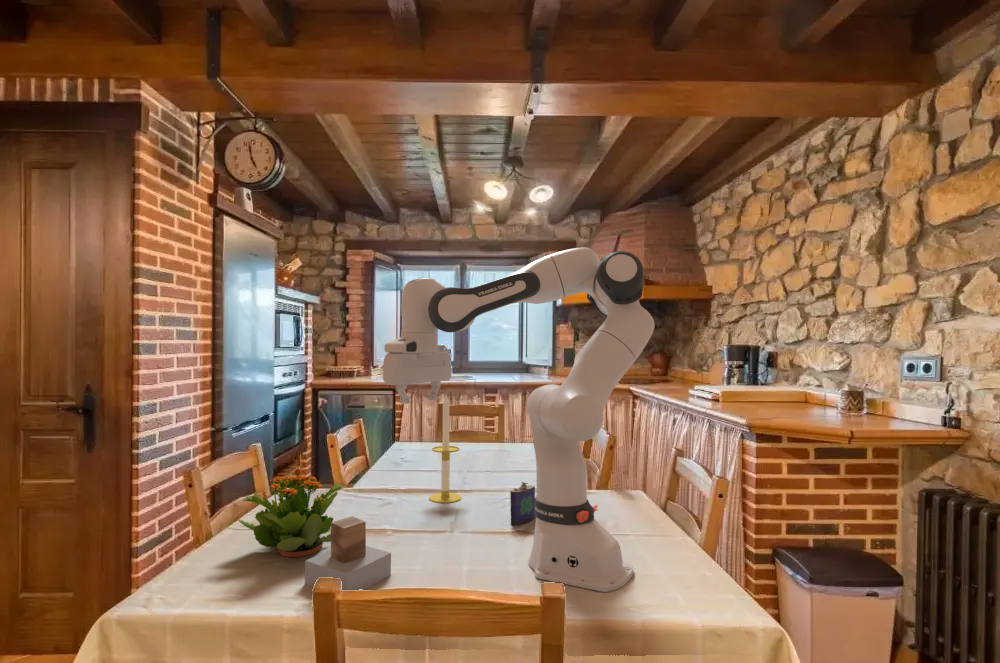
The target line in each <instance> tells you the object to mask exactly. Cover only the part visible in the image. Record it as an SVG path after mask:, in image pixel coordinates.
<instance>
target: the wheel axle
mask: <svg viewBox="0 0 1000 663" xmlns="http://www.w3.org/2000/svg"><path fill="white" fill-rule="evenodd" d="M450 408H451V407H450V401H449V398H448V395H447V394H445V397H444V399H443V401H442V443H441V444H442V445H440V446H434V447H432V449H431V451H432V452H434V453H441V483H440V484H441V485H440V486H441V488H440V489H441V492H440V493H434V494H431V495H430V496H429V501H431V502H432V503H437V504H451V503H456V502H459V501H461V499H462V496H461V495H460V494H458V493H455V492H450V473H451V472H450V468H451V466H450V463H451V462H450V461H451V459H450V458H451V453H455V452H459V451H460V447H458V446H452V445H450Z"/></svg>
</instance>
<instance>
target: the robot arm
mask: <svg viewBox="0 0 1000 663" xmlns="http://www.w3.org/2000/svg"><path fill="white" fill-rule="evenodd" d="M644 283H645V270H644V266H643V263H642V261H641V260H640V259H639V257H638V256H637V255H635V254H634V253H632V252H629V251H624V250H618V251H613V252H611V253H609V254H608V255H606V256H605V257H604V258H603V259H602V260H600V258H599V255H598V254H597V253H596V252H595V251H594V250H593V249H592V248H590V247H585V246H583V247H575V248H574V247H573V248H569V249H565V250H560V251H558V252H554V253H551V254H548V255H545V256H543V257H541V258H538V259H536V260H534V261H532V262H530V263H528V264H526V265H524V266H523V267H522V268H519V269H518V270H516V271H515V272H513V273H510V274H509V275H507V276H505V277H502V278H499V279H496V280H495V279H494V280H492V281H489V282H486V283H483V284H480V285H477V286H474V287H469V288H463V287H451V286H450V287H446V286H445V285H443V284H441V283H440V282H438V281H437V280H436V279H434V278H432V277H421V278H416V279H412V280H410V281H408V282H407V283H406V284H405V285H404V288H403V290H402V295H401V313H400V314H401V319H402V327H401V331H400V332H401V335H400V337H397V338H396V339H394V340H391V341H389V342H386V343H385V344H384V352H385V353H386V354H385V356H384V358H383V363H382V364H383V366H382V379H383V382H384V384H385V385H388V386H395V388H396V389H395V390H396V392H397V393H398V396H399V402H400V404H402V405H407V404H410V402H411V401H410V398H411V396H410V395H408V394H407V392H406V390H407V389H408V387H407V386H408V385H413V384H414V385H415V384H426V383H430V387H431V388H430V390H429V392H428V393H427V399H428V401H437V400H438V393H439V390H440V389H441V382H447V381H450V380H451V378H452V364H451V357H450V354H449V349H448V347H447V346H446V345H444V344H439V343H438V341H439V340H438V339H439V335H438V334H439V332H438V331H439V330H440V331H442V332H444V333H456V332H462V331H465V330H467V329H468V328H469V327H471V326H472V325H473V323H474V321H475V320H476V318H477V317H478V316H481V315H483V314H486V313H488V312H492V311H495V310H497V309H500V308H504V307H505V306H509V305H513V304H520V303H521V304H522V303H525V304H526V303H527V304H535V305H541V304H546V303H551V302H554V301H558V300H562V299H564V298H568V297H570V296H573V295H576V294H582V293H585V294H586V298H587V300H588V301H589V302H590V303H591V305H592V306H593V307H594V308H595V309H596V311H597V313H598V314H599V315H601V316H602V318H604V319H605V320H603V322H602V324H601V325H600V326H599V327H598V329H596V331H595V332H594V333H593V334H592V335H591V337H590V338H589V339H588V341H587V342H586V343H585V344H584V345H583V346H582V347H581V348H580V350H579V351H578V353H577V354H576V355H575V357H574V360H573V365H572V367H571V370H570V372H569V374H568V375H567V377H566V378H565V380H564V382H562V383H561V384H560V385H559V384H552V383H551V384H545V385H542V386H539V387H537V388H535V389H534V390H533V391H532V392H531V393H530V394H529V396H528V397H527V400H526V412H527V415H528V417H529V418H528V419H529V422H530V428H531V436H532V442H533V448H534V455H535V464H536V496H535V504H534V516H535V519H534V521H535V527H534V536H533V543H532V547H531V551H530V554H529V558H528V565H529V567H530V568H532V570H533V571H534V576H535V578H537V579H539V580H544V581H549V582H553V583H558V582H563V583H566V584H565V585H569V586H573V587H578V588H584V589H587V590H593V591H598V592H602V593H607V592H611V591H614V590H617V589H619V588H621V587H623V586H625V585H626V584H627V583H629V581H630V580H631V579H632V577H633V576H634V568H633V565H632V564H631V563H628V562H626V561H623V555H622V549H621V545H620V543H619V541H618V540H617V539H616V538H615V537H614V536H613V535H612V534H611V533H609V531H608V530H606V528H604V526H603V525H602V524H600V522H598V521H597V519H595V513H596V512H597V511H598V504H596V505H593V506H592V505H591V504H590V502H589V500H588V495H587V494H588V493H587V492H588V485H587V484H588V483H587V482H588V479H587V478H588V465H587V462H586V459H585V457H584V454H583V452H582V448H581V443H580V442H585V441H590V440H591V439H593V438H594V437H595V436H597V435H598V433H600V431H601V429H602V427H603V423H604V411H605V408H606V406H607V403H608V401H609V399H610V397H611V395H612V393H613V391H614V389H615V388H616V387H617V385H618V383H619V382H620V381H621V380H622V378H623V377H624V375H626V374H627V371H629V370H630V368H632V367H631V366H633V365H634V363H635V362H636V360H637V359H638V358H639V356H640V355H641V354H642V353H643V351H644V350H645V348H646V346H647V344H648V342H649V340H650V339H651V337H652V335H653V333H654V331H655V327H656V326H655V321H654V318H653V316H652V315H651V313H650V312H649V311H648V310H647V309H645V308H644V307H643V306H642V305H641V303H640V299H642V297H643V295H644V294H643V292H644ZM563 583H562V584H563Z"/></svg>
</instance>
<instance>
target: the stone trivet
mask: <svg viewBox="0 0 1000 663" xmlns="http://www.w3.org/2000/svg"><path fill="white" fill-rule="evenodd" d="M391 575H392V553H391V552H389V551H386V550H381V549H378V548H374V547H371V546H367V545H366V556H363V557H361V558H358V559H355V560H352V561H350V562H347V563H342V562H340V561H339V560H337V559H335V558H333V557H331V549H329V550H326V551H324V552H322V553H319V554H317V555H315V556H313V557H311V558H308V559H306V560H305V561H304V584H305V585H307V586H309V587H313V586H314V584H315V582H316V580H317V579H318V578H319V577H333V578H340V579H341V581H342V590H359V589H364V590H366V589H368V588H371V587H372V586H373V585H375V584H377V583H379V582H380V581H382V580H384V579H387V578H388V577H389V576H391Z"/></svg>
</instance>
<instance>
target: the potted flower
mask: <svg viewBox="0 0 1000 663" xmlns="http://www.w3.org/2000/svg"><path fill="white" fill-rule="evenodd" d="M272 479H273V483H272V485H270V487H271V492H270V493H271V494H272V495H274V496H273V497H274V499H271V502H270V500H268V499H267V498H264V499H263V497H262V496H261V495H260V494H259V493H257V492H256V493H254V494H253V495H251V496H249V495H247V496H245V498H244V499H243V500H242V502H252V503H255V504H258V505H260V506H263V507H264V508H265V509H264V510H262V509H261V511H258V512H256V513H255V516H254V518H255V520H256V521H257V522H258V523H259V524H257V525H255V524H254V523H249V522H248V521H244V520H243V519H239V518H237V521H238V522H239V523H240V524H242V525H243V526H244V527H246V528H247V529H249V530H252V531H253V535H254V539H255V540H256V541H257V542H258V544H259V545H261V546H263V547H266V548H269V549H270V548H271V549H275V550H278V553H279V554H280V555H281V556H283V557H285V558H298V557H299V558H302V557H306V556H307V557H308V556H311V555H314V554H316V553H318V552H319V551H320V550H321V549H322V548H323V544H324V543H331V533H329V534H327V533H328V532H329V531H330V530H331V522H334V517H332V516H329V515H328V513H326V511H327V509H328V508H329V507H330V506H331V504H333V501H334V500H335V498H336V497H337V495H338V491H340V490H343V489H344V487H345V486H344V485H342V484H338V483H336V484H335V485H334V486H333V485H332V486H330V488H329V489H328V491H327V492H326V493H322V494H321V493H320V496H319V494H317V495H316V498H314V499H313V501H312V503H313V504H312V506H310V504H309V503H310V498H311V495H312V494H314V493H315V492H316V491H317V489H321V488H322V485H321V482H320V481H318V479H317V478H316V477H315V476H311V475H302V474H299V475H298V476H297V477H294V476H288V475H284V476H282V477H280V476H277V477H274V478H272ZM306 490H307V491H306ZM276 496H278V498H277V497H276ZM277 500H278V501H279V502H278V501H277ZM277 502H278V503H277ZM325 513H326V514H325ZM324 514H325V515H324ZM323 534H325V535H326V534H327V535H326V536H325V535H324V536H322V535H323ZM320 536H321V537H320Z"/></svg>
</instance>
